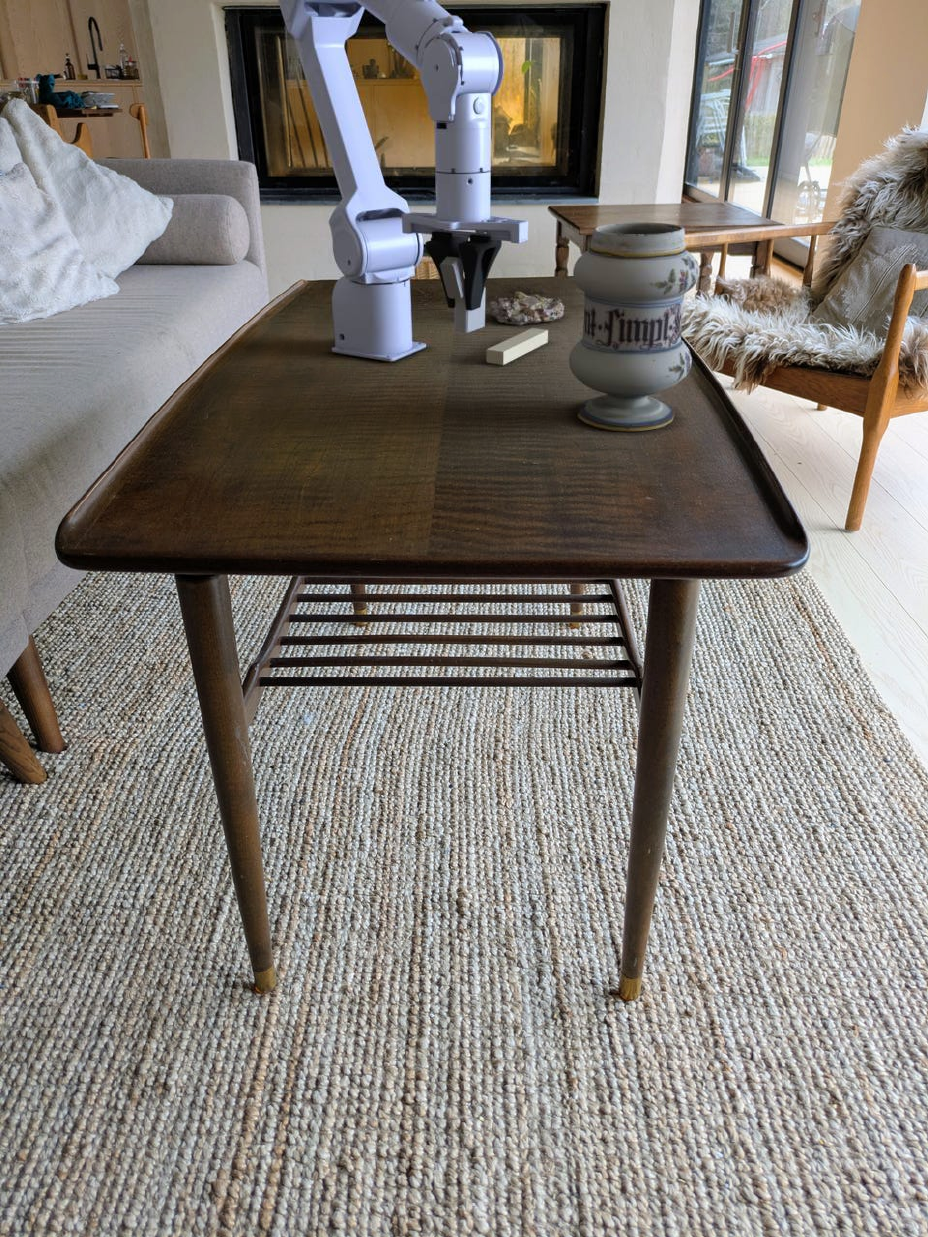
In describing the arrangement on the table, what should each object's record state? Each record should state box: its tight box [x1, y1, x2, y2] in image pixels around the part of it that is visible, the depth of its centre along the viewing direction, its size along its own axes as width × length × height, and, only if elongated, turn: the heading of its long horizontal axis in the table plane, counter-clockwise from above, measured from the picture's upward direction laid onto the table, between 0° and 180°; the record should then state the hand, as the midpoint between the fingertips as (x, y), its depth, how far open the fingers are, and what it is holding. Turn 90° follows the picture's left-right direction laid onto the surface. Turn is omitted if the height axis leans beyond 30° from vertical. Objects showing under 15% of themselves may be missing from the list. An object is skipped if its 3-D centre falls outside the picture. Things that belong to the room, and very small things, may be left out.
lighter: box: [440, 257, 486, 333], centre depth 99 cm, size 7×2×8 cm, turn 149°
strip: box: [485, 327, 549, 366], centre depth 113 cm, size 2×12×2 cm, turn 149°
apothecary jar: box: [568, 221, 701, 433], centre depth 88 cm, size 12×12×18 cm
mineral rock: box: [489, 291, 565, 326], centre depth 128 cm, size 11×4×8 cm
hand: (464, 307), depth 100 cm, fingers closed on lighter, 2 cm apart
